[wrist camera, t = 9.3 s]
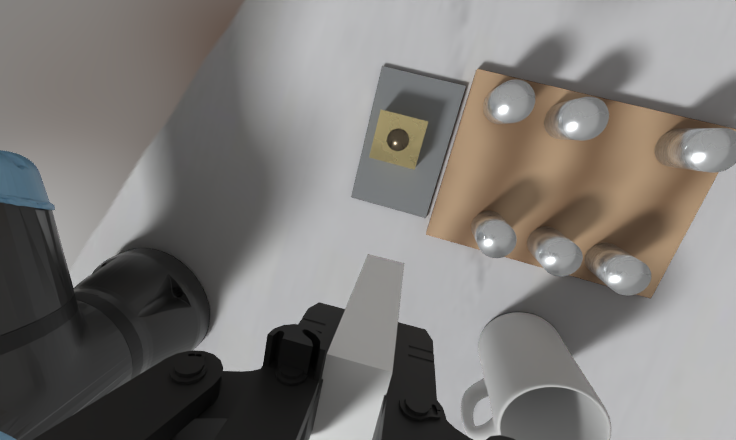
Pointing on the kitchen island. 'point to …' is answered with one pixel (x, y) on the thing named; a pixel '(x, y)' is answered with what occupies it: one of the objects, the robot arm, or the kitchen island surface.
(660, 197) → the board
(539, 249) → the spacers
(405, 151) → the nut
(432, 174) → the mat
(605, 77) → the kitchen island surface
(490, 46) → the kitchen island surface
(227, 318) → the kitchen island surface
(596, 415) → the mug
